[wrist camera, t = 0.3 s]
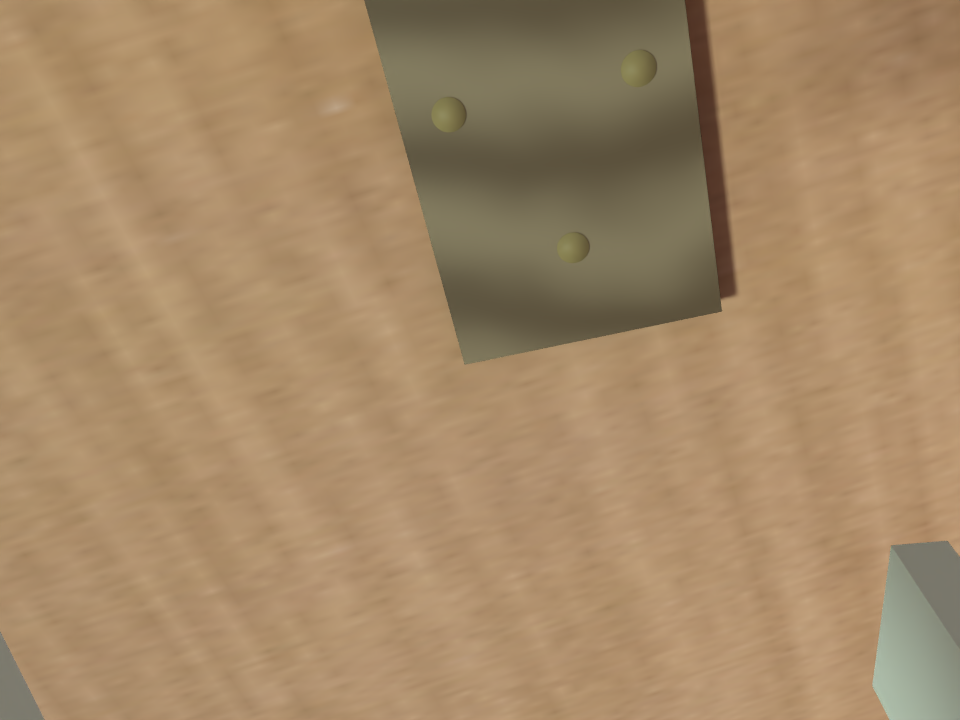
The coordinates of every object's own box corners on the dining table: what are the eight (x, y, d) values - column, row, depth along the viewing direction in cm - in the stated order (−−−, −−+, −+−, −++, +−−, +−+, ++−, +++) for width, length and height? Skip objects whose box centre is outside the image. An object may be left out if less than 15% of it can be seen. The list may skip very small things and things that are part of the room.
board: (355, -52, 32) (350, -52, 31) (662, -135, 31) (668, -138, 30) (465, 353, 40) (464, 365, 39) (715, 301, 39) (722, 311, 38)
